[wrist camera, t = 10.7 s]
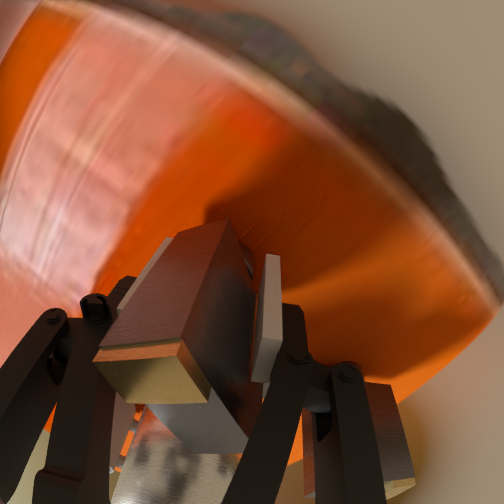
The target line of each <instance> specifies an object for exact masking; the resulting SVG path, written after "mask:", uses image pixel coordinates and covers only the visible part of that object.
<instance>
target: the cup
mask: <svg viewBox="0 0 504 504" xmlns="http://www.w3.org/2000/svg"><path fill="white" fill-rule="evenodd" d="M135 412H136V407H135V404H133V403H126V402H125V400H124V399H123V398H122V397H121V396H120V395H119V394H118V393H117V392H116V398H115V406H114V415H113V425H112V436H111V449H110V468H109V473H113V472H114V469H115V466H117V467H119V468H123V465H124V462H125V459H126V456H122V455H120V452H121V450H122V447H123V444H124V442H125V439H126V436H127V434H128V431H129V430H131V431H132V432H133V433H135V431H136V428H137V426H138V423H139V421H137V420H135V419H134V416H135Z"/></svg>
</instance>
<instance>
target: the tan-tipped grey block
mask: <svg viewBox="0 0 504 504" xmlns="http://www.w3.org/2000/svg"><path fill="white" fill-rule="evenodd" d="M342 363H347V364H351V365H353V366H355V367H356V368H357V369H358V370H359V371H360V372H361V374H362V376H363V372H362V368H361V366H360V365H359V364H357V363H355V362H342ZM338 364H340V363H338ZM336 365H337V364H336ZM334 366H335V365H334ZM334 366H332V367H331V368H334ZM363 381H364V385H365V389H366V393H367V398H368V402H369V407H370V411H371V416H372V421H373V425H374V430H375V435H376V440H377V446H378V451H379V457H380V462H381V468H382V474H383V481H384V488H385V494H386V499H390V498H391V497H394V496H396V495H398V494H400V493H401V492H403V491H405V490H407V489H409V488H411V487H412V486H414V485H415V479H414V478H415V474H414V469H413V465H412V461H411V457H410V452H409V448H408V445H407V440H406V437H405V433H404V429H403V425H402V422H401V418H400V415H399V411H398V408H397V404H396V401H395V398H394V394H393V391H392V388H391V385H388V384H379V383H370V382H365V380H364V376H363ZM302 433H303V470H304V497H315V472H314V450H313V432H312V416H311V411H310V410H308V409H305V408H302Z"/></svg>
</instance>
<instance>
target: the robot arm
mask: <svg viewBox="0 0 504 504" xmlns="http://www.w3.org/2000/svg"><path fill="white" fill-rule="evenodd" d="M173 239H174V238H171V237H166V239H165V240H164V241H163V243H162V244H161V245H160V247H159V248H158V249H157V251H156V252H155V254H154V255H153V256H152V258H151V259H150V261H149V262H148V263H147V265H146V266H145V268H144V269H143V270H142V272H141V273H140V275H139V276H138V277H132V276H126V277H124V278H122V279H121V280H119V282H118V283H117V284H116V286H115V288H113V290H112V291H111V293H110V294H109V295H108V296H105V295H103V294H99V293H95V294H89V295H86V296H85V297H83V298H82V299H81V301H80V306H81V310H82V314H83V318H68V317H67V314H66V312H65V311H64V310H62V309H60V308H52V309H49V310H47V311H45V312H44V313H43V314H42V315H41V316H40V317H39V319H38V320H37V321H36V322H35V323H34V325H33V326H32V327H31V328H30V330H29V331H28V332H27V333H26V335H25V336H24V337H23V338H22V340H21V341H20V342H19V344H18V345H17V346H16V348H15V349H14V350H13V352H12V353H11V354H10V356H9V357H8V358H7V360H6V361H5V362H4V364H3V365H2V367H1V368H0V504H7V502H8V501H9V500H10V498H11V497H12V495H13V494H14V492H15V490H16V488H17V486H18V484H19V481H20V479H21V476H22V474H23V472H24V469H25V467H26V465H27V462H28V460H29V458H30V456H31V453H32V451H33V449H34V447H35V444H36V442H37V440H38V438H39V436H40V434H41V432H42V430H43V428H44V426H45V424H46V422H47V420H48V418H49V416H50V414H51V412H52V410H53V408H54V406H55V405H56V403H57V405H56V409H55V414H54V418H53V423H52V428H51V433H50V439H49V444H48V449H47V456H46V463H45V466H44V468H43V469H42V470H39V471H38V472H37V474H36V476H35V479H34V487H33V497H32V504H111V503H110V500H109V468H110V449H111V436H112V425H113V415H114V406H115V398H116V390H115V389H114V388H113V387H112V386H111V385H110V383H109V382H108V381H107V380H106V379H105V377H104V376H103V375H102V374H101V372H100V371H99V370H98V369H97V367H96V366H95V365H94V364H93V362H92V361H93V359H94V358H95V356H96V354H97V353H98V351H99V350H100V348H99V344H100V343H101V341H102V340H103V338H104V337H105V335H106V334H107V332H108V331H109V329H110V327H111V326H112V324H113V323H114V321H115V320H116V318H117V317H118V315H119V314H120V312H121V311H122V309H123V308H124V307H125V305H126V304H127V302H128V301H129V299H130V298H131V296H132V295H133V293H134V292H135V291H136V289H137V288H138V286H139V285H140V284H141V282H142V281H143V279H144V278H145V276H146V275H147V274H148V272H149V271H150V270H151V268H152V267H153V265H154V264H155V263H156V261H157V260H158V259H159V257H160V256H161V255H162V253H163V252H164V251H165V249H166V248H167V247H168V245H169V244H170V243H171V241H172V240H173ZM304 321H305V320H304V312H303V311H302V310H301V308H300V307H299V305H293V304H286V303H282V297H281V269H280V256H278V255H272V254H266V258H265V263H264V268H263V273H262V277H261V282H260V287H259V292H258V301H257V314H256V326H255V338H254V349H253V361H252V372H251V381H253V382H261V383H269V380H270V385H269V388H268V390H267V393H266V396H265V398H264V401H263V404H262V406H261V409H260V412H259V414H258V417H257V419H256V422H255V424H254V427H253V429H252V432H251V434H250V437H249V439H248V442H247V444H246V447H245V449H244V452H243V454H242V457H241V459H240V461H239V464H238V466H237V468H236V471H235V473H234V475H233V478H232V480H231V482H230V484H229V487H228V489H227V491H226V493H225V496H224V498H223V500H222V502H221V504H274V503H275V500H276V497H277V494H278V491H279V488H280V485H281V482H282V479H283V476H284V472H285V469H286V466H287V463H288V459H289V456H290V452H291V449H292V446H293V442H294V438H295V435H296V431H297V427H298V424H299V420H300V416H301V412H302V408H305V409H308V410H310V411H311V416H312V432H313V450H314V472H315V500H316V501H315V503H316V504H387V502H386V494H385V488H384V481H383V474H382V468H381V462H380V457H379V451H378V446H377V440H376V435H375V430H374V425H373V421H372V416H371V411H370V407H369V402H368V398H367V393H366V389H365V385H364V381H363V376H362V374H361V372H360V371H359V370H358V369H357V368H356V367H355V366H353V365H351V364H347V363H340V364H337V365H335V366H334V368H330V367H327V366H324V365H322V364H320V363H318V362H316V361H315V360H314V359H313V357H312V356H311V354H310V353H309V352H308V346H307V337H306V328H305V322H304Z"/></svg>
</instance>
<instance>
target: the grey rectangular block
mask: <svg viewBox="0 0 504 504" xmlns="http://www.w3.org/2000/svg"><path fill="white" fill-rule="evenodd" d="M254 269H255V260H254V256H253V254H252V253H251V251H250V250H249V249H248V248H247V247H246V246H245V245H243V244H242V243H239V242H238V240H237V237H236V234H235V232H234V229H233V226H232V223H231V220H230V218H229V217H228V218H225V219H221V220H218V221H214V222H211V223H208V224H204V225H201V226H197V227H194V228H191V229H187V230H184V231H181V232H178V233H177V235H176V236H175V237H174V239H173V240H172V241H171V243H170V244H169V245H168V247H167V248H166V249H165V251H164V252H163V253H162V255H161V256H160V257H159V259H158V260H157V261H156V263H155V264H154V265H153V267H152V268H151V270H150V271H149V272H148V274H147V275H146V276H145V278H144V279H143V281H142V282H141V284H140V285H139V286H138V288H137V289H136V291H135V292H134V293H133V295H132V296H131V298H130V299H129V301H128V302H127V304H126V305H125V307H124V308H123V309H122V311H121V312H120V314H119V315H118V317H117V318H116V320H115V321H114V323H113V324H112V326H111V327H110V329H109V331H108V332H107V334H106V335H105V337H104V338H103V340H102V341H101V343H100V344H99V348H100V350H99V351H98V353H97V354H96V356H95V358H94V359H93V361H92V362H93V364H94V365H95V366H96V367H97V369H98V370H99V371H100V372H101V374H102V375H103V376H104V377H105V379H106V380H107V381H108V382H109V383H110V385H111V386H112V387H113V388H114V389H115V390H116V392H117V393H118V394H119V395H120V396H121V397H122V398H123V399H124V400H125V402H126V403H133V404H145V405H146V406H147V407H148V408H149V409H150V410H151V411H152V412H153V414H154V415H155V416H156V417H157V418H158V419H159V420H160V421H161V422H162V423H163V424H164V425H165V426H166V427H167V428H168V429H169V430H170V431H171V432H172V433H173V434H174V435H175V436H176V437H177V438H178V439H179V440H180V441H181V442H182V443H183V444H184V445H185V446H186V447H187V448H188V449H190V450H191V451H192V452H193V453H197V454H237V453H243V452H244V449H245V447H246V444H247V442H248V439H249V437H250V434H251V432H252V429H253V427H254V424H255V422H256V419H257V417H258V414H259V412H260V409H261V406H262V397H263V383H261V382H253V381H251V372H252V361H253V349H254V338H255V326H256V314H257V301H258V295H257V292H256V290H255V287H254V284H253V277H254Z"/></svg>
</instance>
